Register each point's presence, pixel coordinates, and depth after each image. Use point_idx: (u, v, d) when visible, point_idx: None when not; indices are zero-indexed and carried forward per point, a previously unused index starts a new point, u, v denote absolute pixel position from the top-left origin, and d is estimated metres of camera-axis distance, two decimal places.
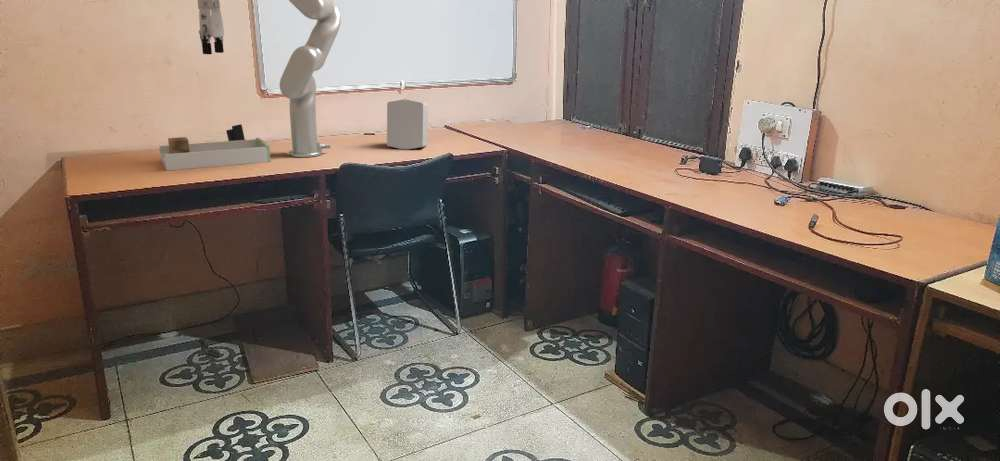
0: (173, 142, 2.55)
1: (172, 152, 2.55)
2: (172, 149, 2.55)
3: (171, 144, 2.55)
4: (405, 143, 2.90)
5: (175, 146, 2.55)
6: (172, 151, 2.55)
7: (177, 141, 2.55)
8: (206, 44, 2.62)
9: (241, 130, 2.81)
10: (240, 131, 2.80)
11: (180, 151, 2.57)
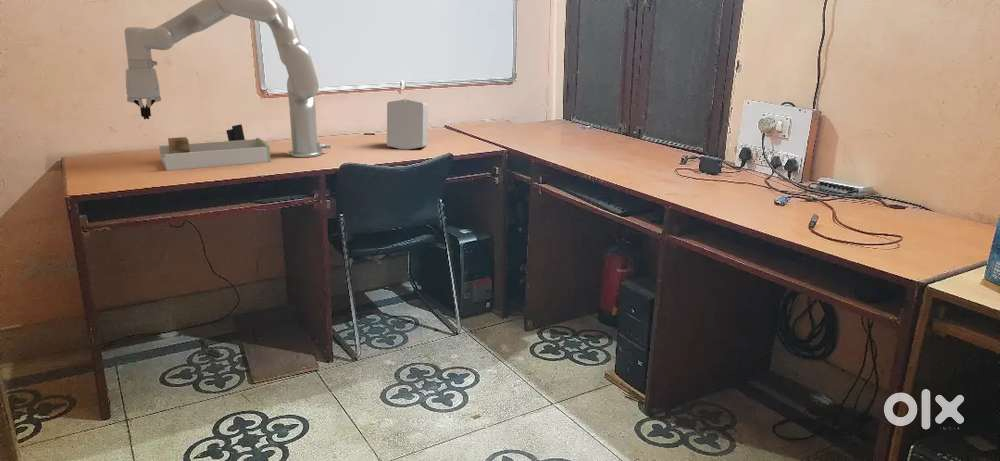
0: (173, 142, 2.55)
1: (172, 152, 2.55)
2: (172, 149, 2.55)
3: (171, 144, 2.55)
4: (405, 144, 2.90)
5: (175, 146, 2.55)
6: (172, 151, 2.55)
7: (177, 141, 2.55)
8: (149, 108, 2.51)
9: (241, 130, 2.81)
10: (240, 131, 2.80)
11: (180, 151, 2.57)
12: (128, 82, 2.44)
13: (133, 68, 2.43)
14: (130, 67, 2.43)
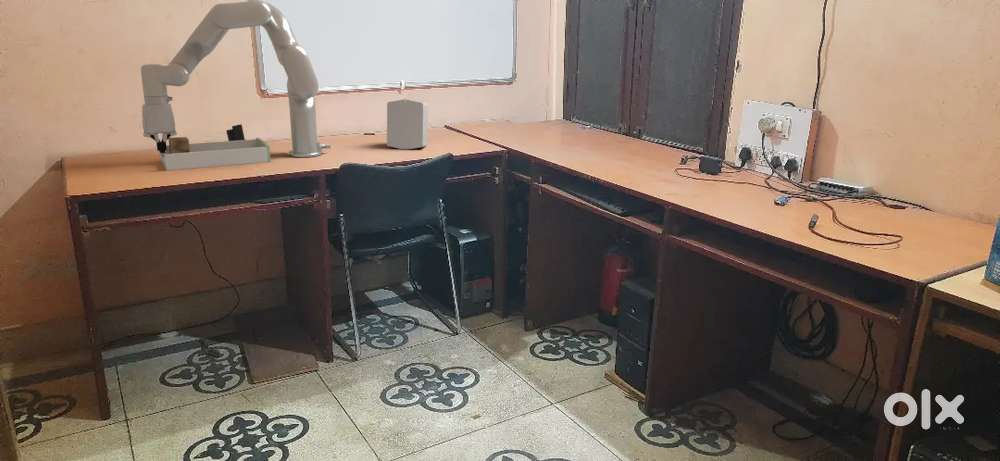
0: (173, 142, 2.55)
1: (172, 152, 2.55)
2: (172, 149, 2.55)
3: (171, 144, 2.55)
4: (405, 144, 2.90)
5: (175, 146, 2.55)
6: (172, 151, 2.55)
7: (177, 141, 2.55)
8: None
9: (241, 130, 2.81)
10: (240, 131, 2.80)
11: (180, 151, 2.57)
12: (144, 118, 2.49)
13: (149, 104, 2.48)
14: (146, 103, 2.48)
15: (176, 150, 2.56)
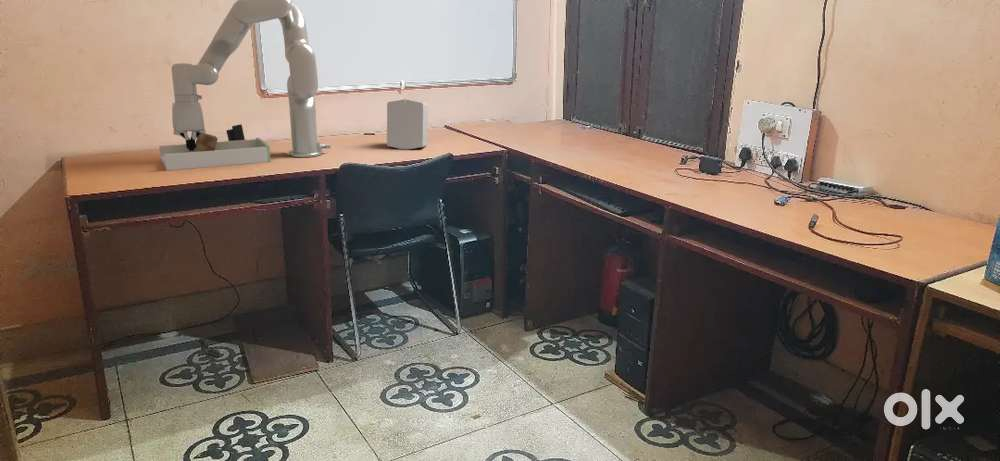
0: (203, 136, 2.59)
1: (198, 145, 2.59)
2: (199, 142, 2.59)
3: (200, 137, 2.59)
4: (405, 144, 2.90)
5: (203, 141, 2.60)
6: (198, 144, 2.59)
7: (207, 137, 2.60)
8: None
9: (241, 130, 2.81)
10: (240, 131, 2.80)
11: (206, 146, 2.60)
12: (175, 116, 2.54)
13: (180, 103, 2.53)
14: (177, 102, 2.53)
15: (202, 145, 2.60)
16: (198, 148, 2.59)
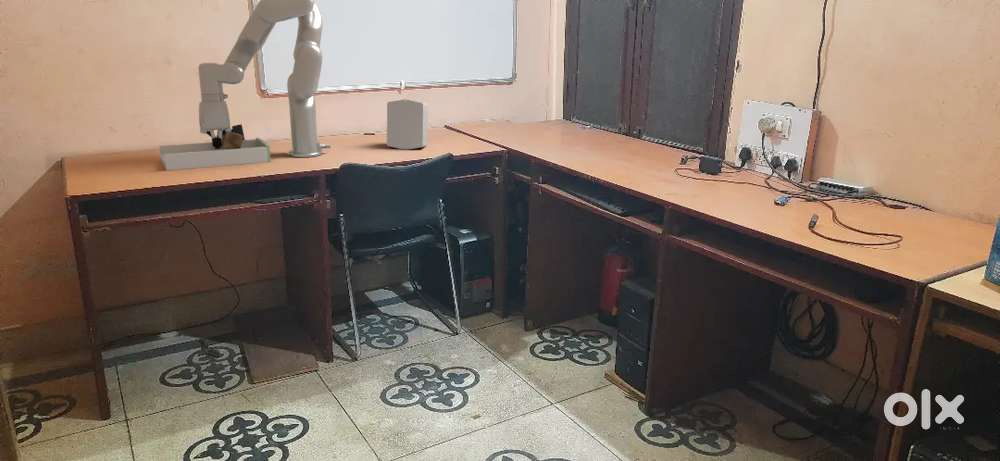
0: (229, 134, 2.64)
1: (225, 143, 2.64)
2: (226, 140, 2.64)
3: (227, 136, 2.63)
4: (405, 144, 2.90)
5: (230, 139, 2.64)
6: (225, 142, 2.64)
7: (233, 135, 2.64)
8: None
9: (241, 130, 2.81)
10: (240, 131, 2.80)
11: (232, 144, 2.65)
12: (202, 115, 2.58)
13: (207, 102, 2.57)
14: (204, 101, 2.57)
15: (229, 143, 2.64)
16: (225, 146, 2.64)
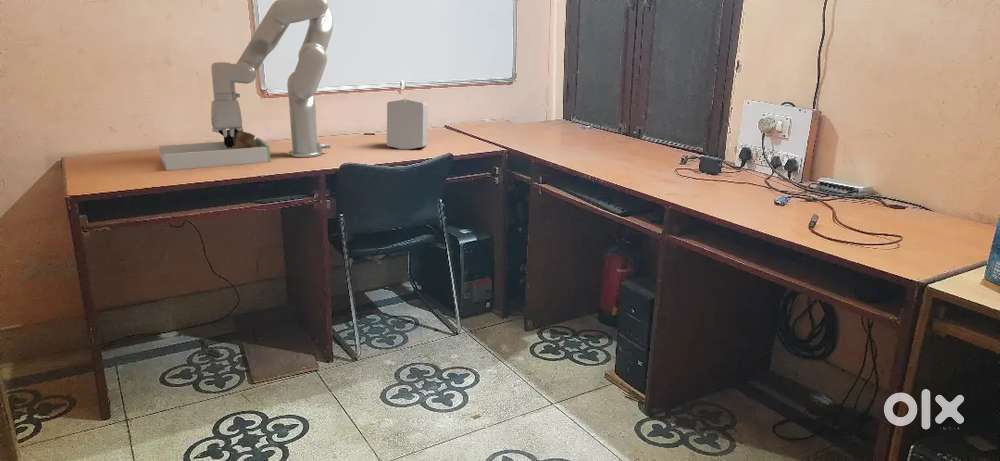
0: (241, 133, 2.66)
1: (237, 142, 2.66)
2: (238, 139, 2.66)
3: (239, 135, 2.66)
4: (405, 144, 2.90)
5: (241, 138, 2.66)
6: (237, 141, 2.66)
7: (245, 134, 2.67)
8: None
9: None
10: None
11: (244, 143, 2.67)
12: (214, 114, 2.60)
13: (219, 101, 2.59)
14: (216, 100, 2.59)
15: (240, 142, 2.67)
16: (236, 145, 2.66)
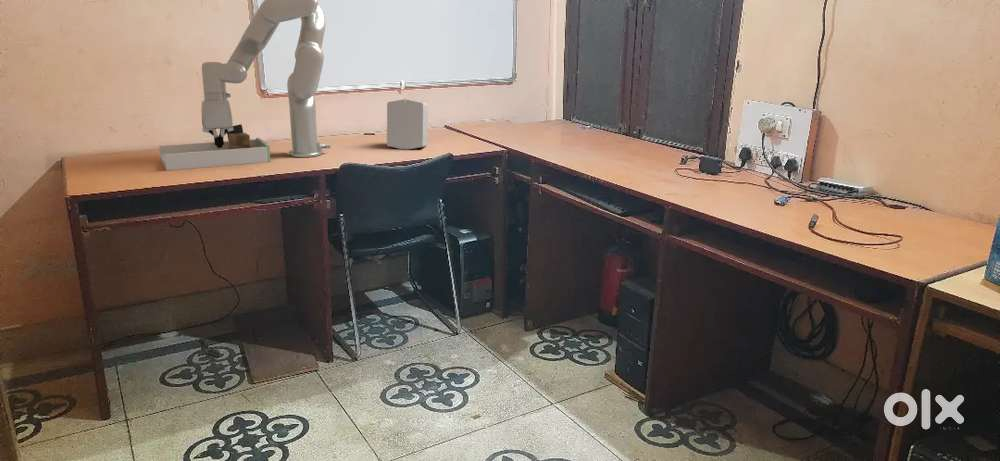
0: (236, 138, 2.65)
1: (234, 147, 2.66)
2: (235, 144, 2.66)
3: (234, 139, 2.65)
4: (405, 143, 2.90)
5: (237, 141, 2.66)
6: (234, 146, 2.66)
7: (239, 137, 2.66)
8: None
9: (241, 130, 2.81)
10: (240, 131, 2.80)
11: (241, 146, 2.67)
12: (204, 114, 2.58)
13: (209, 100, 2.57)
14: (206, 99, 2.58)
15: (238, 145, 2.67)
16: None
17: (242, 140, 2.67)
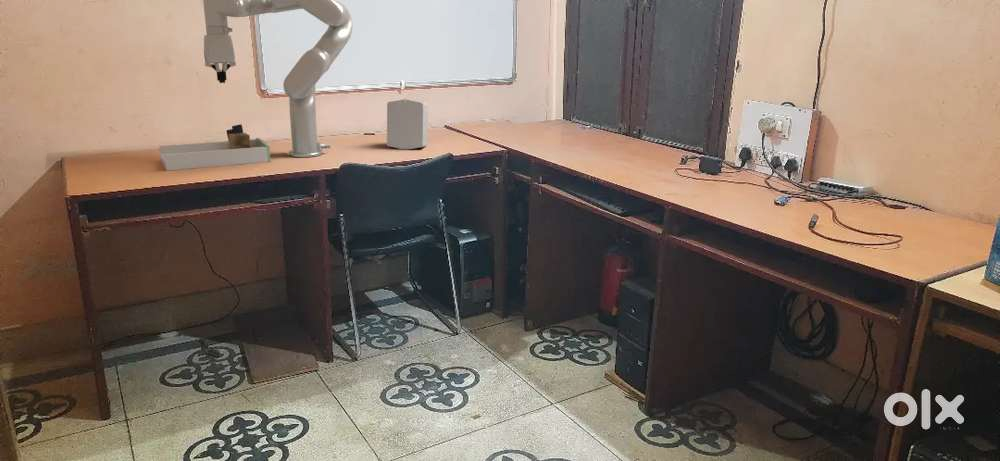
0: (236, 138, 2.65)
1: (234, 147, 2.66)
2: (235, 144, 2.66)
3: (234, 139, 2.65)
4: (405, 144, 2.90)
5: (237, 141, 2.66)
6: (234, 146, 2.66)
7: (239, 137, 2.66)
8: None
9: (241, 130, 2.81)
10: (240, 131, 2.80)
11: (241, 146, 2.67)
12: (207, 47, 2.60)
13: (211, 34, 2.59)
14: (208, 33, 2.59)
15: (238, 145, 2.67)
16: None
17: (242, 140, 2.67)
